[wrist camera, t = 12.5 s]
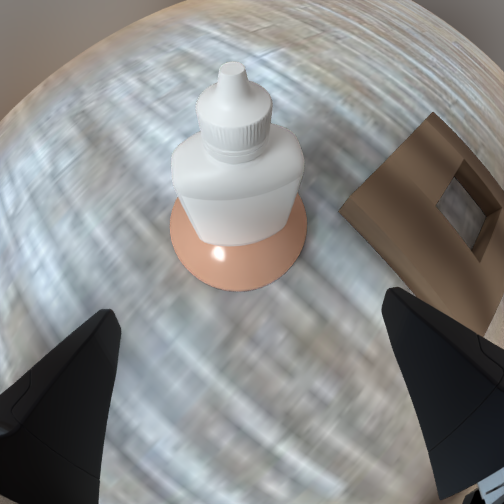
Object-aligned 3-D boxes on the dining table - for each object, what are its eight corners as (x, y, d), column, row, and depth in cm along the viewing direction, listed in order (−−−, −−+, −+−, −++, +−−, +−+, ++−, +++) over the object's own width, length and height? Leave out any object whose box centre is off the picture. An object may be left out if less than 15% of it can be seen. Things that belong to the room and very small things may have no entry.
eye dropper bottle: (272, 266, 17) (317, 152, 6) (188, 238, 18) (108, 108, 6) (291, 204, 18) (341, 55, 7) (212, 181, 19) (180, 27, 7)
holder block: (456, 348, 17) (476, 349, 14) (338, 211, 19) (349, 196, 17) (510, 232, 20) (525, 225, 17) (422, 126, 22) (432, 111, 20)
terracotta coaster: (233, 320, 17) (232, 320, 16) (149, 223, 19) (144, 217, 18) (330, 229, 19) (334, 224, 18) (243, 148, 21) (242, 141, 20)
